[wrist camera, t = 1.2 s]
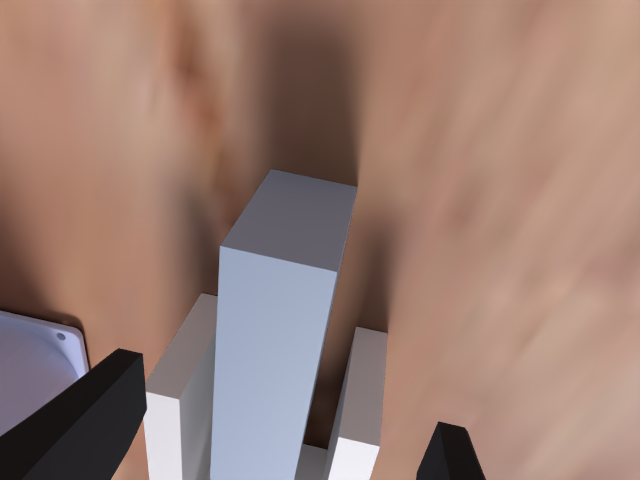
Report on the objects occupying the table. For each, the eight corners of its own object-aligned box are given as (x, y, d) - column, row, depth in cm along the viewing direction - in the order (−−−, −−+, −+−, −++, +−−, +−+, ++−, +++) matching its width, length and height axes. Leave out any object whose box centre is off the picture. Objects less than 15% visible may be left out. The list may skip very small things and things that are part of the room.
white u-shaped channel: (201, 435, 29) (148, 556, 23) (201, 292, 23) (129, 407, 17) (349, 470, 28) (332, 605, 22) (388, 333, 22) (378, 467, 16)
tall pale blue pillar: (250, 374, 25) (209, 479, 20) (271, 167, 19) (220, 245, 14) (314, 389, 25) (289, 499, 20) (358, 185, 19) (337, 272, 14)
